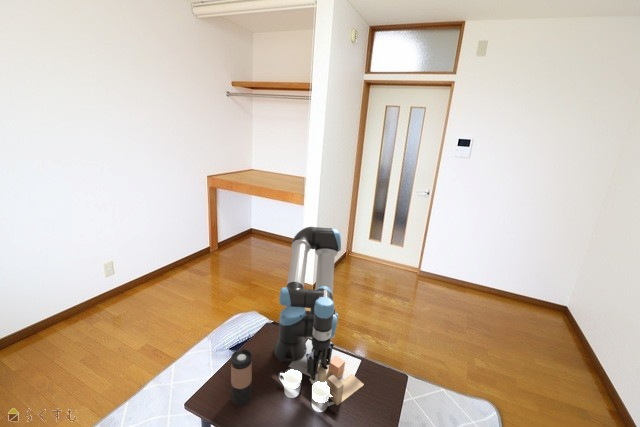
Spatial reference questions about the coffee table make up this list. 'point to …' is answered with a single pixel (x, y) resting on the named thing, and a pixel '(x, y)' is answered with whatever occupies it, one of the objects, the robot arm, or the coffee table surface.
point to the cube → (336, 366)
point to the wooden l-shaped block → (343, 387)
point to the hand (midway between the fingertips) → (317, 382)
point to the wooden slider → (325, 374)
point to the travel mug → (241, 377)
